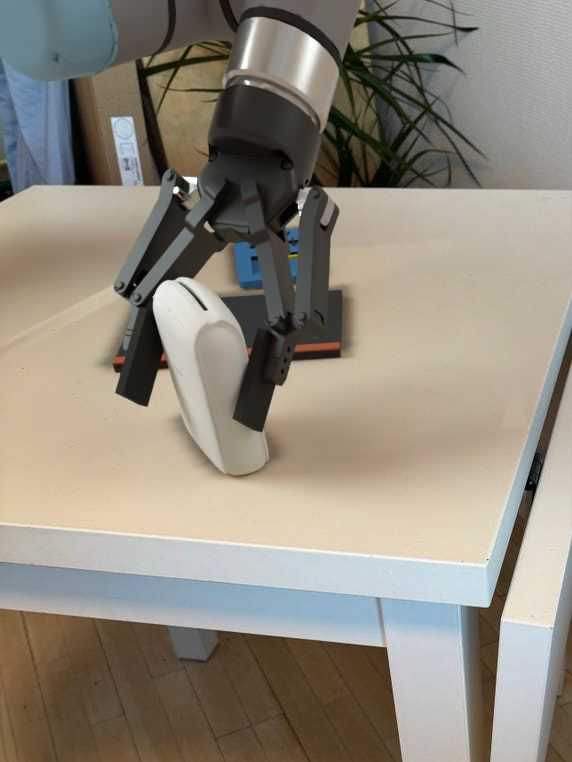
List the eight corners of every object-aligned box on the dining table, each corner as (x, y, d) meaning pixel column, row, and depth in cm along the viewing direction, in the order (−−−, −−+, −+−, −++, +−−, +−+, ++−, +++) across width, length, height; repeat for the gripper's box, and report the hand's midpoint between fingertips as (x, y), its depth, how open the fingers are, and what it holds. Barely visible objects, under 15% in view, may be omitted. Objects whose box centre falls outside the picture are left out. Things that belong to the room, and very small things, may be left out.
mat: (114, 372, 80) (111, 362, 80) (142, 309, 90) (140, 301, 90) (340, 357, 81) (339, 347, 81) (342, 297, 92) (341, 288, 91)
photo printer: (178, 427, 72) (135, 270, 64) (229, 412, 74) (194, 257, 66) (223, 484, 66) (181, 318, 58) (278, 467, 68) (245, 303, 59)
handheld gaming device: (303, 224, 105) (318, 270, 94) (305, 234, 105) (320, 280, 95) (231, 232, 103) (238, 279, 93) (233, 242, 104) (240, 290, 93)
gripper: (429, 158, 65) (345, 457, 65) (180, 133, 72) (104, 403, 72) (387, 88, 58) (292, 424, 58) (115, 69, 65) (31, 368, 65)
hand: (188, 412), depth 65 cm, fingers closed on photo printer, 10 cm apart
